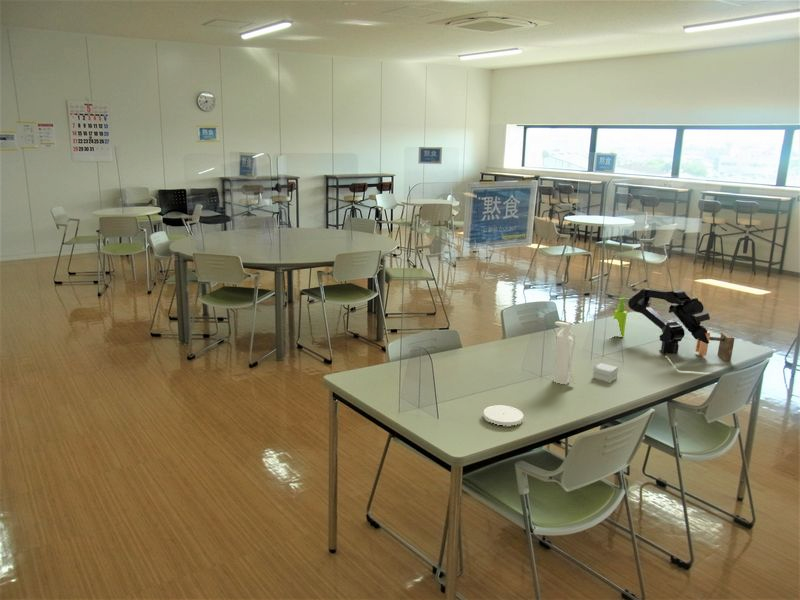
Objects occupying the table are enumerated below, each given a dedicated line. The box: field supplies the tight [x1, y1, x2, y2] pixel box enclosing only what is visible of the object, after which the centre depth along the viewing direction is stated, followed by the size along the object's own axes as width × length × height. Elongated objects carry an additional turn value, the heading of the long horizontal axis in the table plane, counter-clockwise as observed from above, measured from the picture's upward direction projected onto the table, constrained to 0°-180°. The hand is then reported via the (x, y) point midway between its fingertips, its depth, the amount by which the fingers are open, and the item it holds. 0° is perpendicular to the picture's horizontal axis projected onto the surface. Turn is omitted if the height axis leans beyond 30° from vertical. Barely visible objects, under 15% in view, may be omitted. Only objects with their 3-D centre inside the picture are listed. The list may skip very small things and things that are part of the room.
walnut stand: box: [709, 332, 736, 362], centre depth 286 cm, size 9×8×12 cm
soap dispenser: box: [613, 297, 631, 338], centre depth 315 cm, size 6×7×20 cm
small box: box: [592, 362, 619, 383], centre depth 261 cm, size 8×8×5 cm
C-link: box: [694, 328, 711, 357], centre depth 287 cm, size 3×6×11 cm, turn 171°
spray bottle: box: [553, 321, 576, 385], centre depth 252 cm, size 7×12×25 cm, turn 29°
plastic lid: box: [482, 404, 525, 427], centre depth 220 cm, size 14×14×2 cm
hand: (706, 340), depth 287 cm, fingers closed on C-link, 6 cm apart
